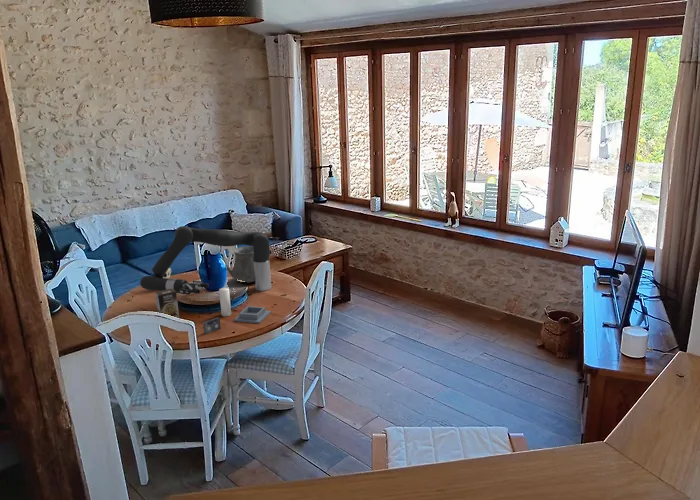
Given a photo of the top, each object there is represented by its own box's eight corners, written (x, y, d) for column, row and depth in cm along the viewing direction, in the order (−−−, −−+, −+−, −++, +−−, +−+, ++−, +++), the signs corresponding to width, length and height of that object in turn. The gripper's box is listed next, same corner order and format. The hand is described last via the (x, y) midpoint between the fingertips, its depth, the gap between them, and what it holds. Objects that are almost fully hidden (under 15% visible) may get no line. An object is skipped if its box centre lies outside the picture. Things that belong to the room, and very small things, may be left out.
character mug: (162, 292, 319) (159, 271, 315) (154, 290, 322) (151, 269, 319) (176, 286, 328) (174, 265, 324) (168, 284, 331) (166, 264, 328)
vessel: (273, 275, 343) (271, 244, 337) (257, 287, 322) (254, 255, 317) (242, 272, 349) (239, 242, 343) (224, 284, 329) (221, 252, 323)
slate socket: (246, 310, 289) (245, 304, 288) (270, 312, 285) (270, 306, 284) (234, 321, 276) (233, 314, 275) (259, 323, 273) (259, 317, 272)
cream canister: (224, 312, 288) (222, 287, 284) (233, 313, 286) (230, 288, 282) (219, 315, 283) (217, 290, 279) (228, 316, 282) (226, 291, 278)
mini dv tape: (219, 328, 269) (218, 316, 267) (220, 329, 268) (219, 317, 266) (204, 333, 263) (202, 321, 262) (205, 334, 262) (204, 322, 261)
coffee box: (162, 325, 273) (158, 295, 269) (158, 321, 278) (154, 291, 274) (180, 320, 279) (176, 291, 274) (175, 316, 284) (172, 287, 279)
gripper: (168, 283, 280) (196, 286, 276) (183, 275, 294) (210, 277, 289) (169, 297, 282) (197, 300, 278) (184, 288, 296) (211, 290, 291)
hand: (204, 288), depth 284 cm, fingers open, 8 cm apart
